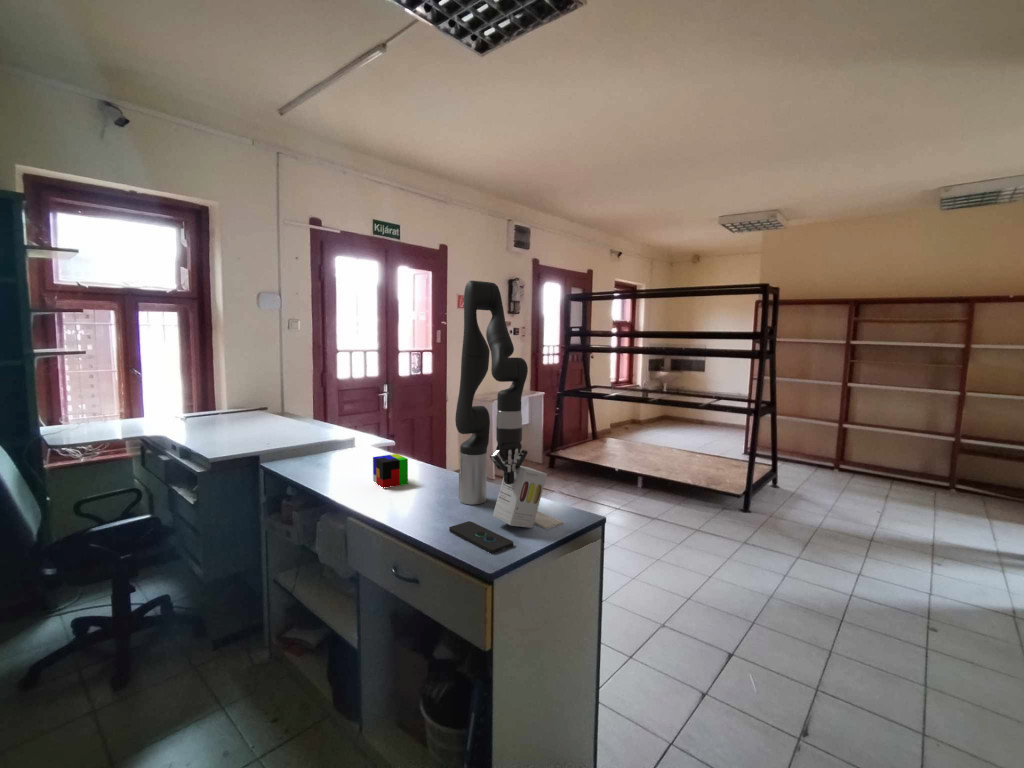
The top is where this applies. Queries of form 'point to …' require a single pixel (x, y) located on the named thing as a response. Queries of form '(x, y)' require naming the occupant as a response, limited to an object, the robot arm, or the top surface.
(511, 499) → the supplement box
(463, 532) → the smart home device
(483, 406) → the robot arm
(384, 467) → the puzzle toy
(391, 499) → the top surface
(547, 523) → the plain beige rectangular board
